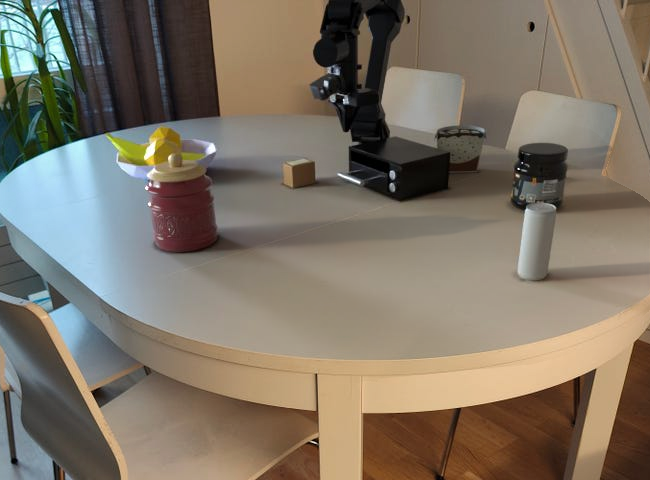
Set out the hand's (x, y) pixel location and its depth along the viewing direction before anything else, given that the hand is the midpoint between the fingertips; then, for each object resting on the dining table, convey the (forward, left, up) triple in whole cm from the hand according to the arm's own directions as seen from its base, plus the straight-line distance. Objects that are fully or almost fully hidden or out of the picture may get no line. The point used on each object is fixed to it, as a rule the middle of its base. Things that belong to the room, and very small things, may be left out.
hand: (345, 132), depth 160 cm
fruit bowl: (-38, -32, -12) cm, 51 cm away
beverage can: (+64, -6, -12) cm, 65 cm away
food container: (+9, +27, -12) cm, 31 cm away
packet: (-7, -9, -12) cm, 17 cm away
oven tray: (+8, +4, -11) cm, 14 cm away
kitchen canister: (+11, -47, -12) cm, 50 cm away
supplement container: (+40, +21, -12) cm, 47 cm away
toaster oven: (+10, +8, -12) cm, 17 cm away
